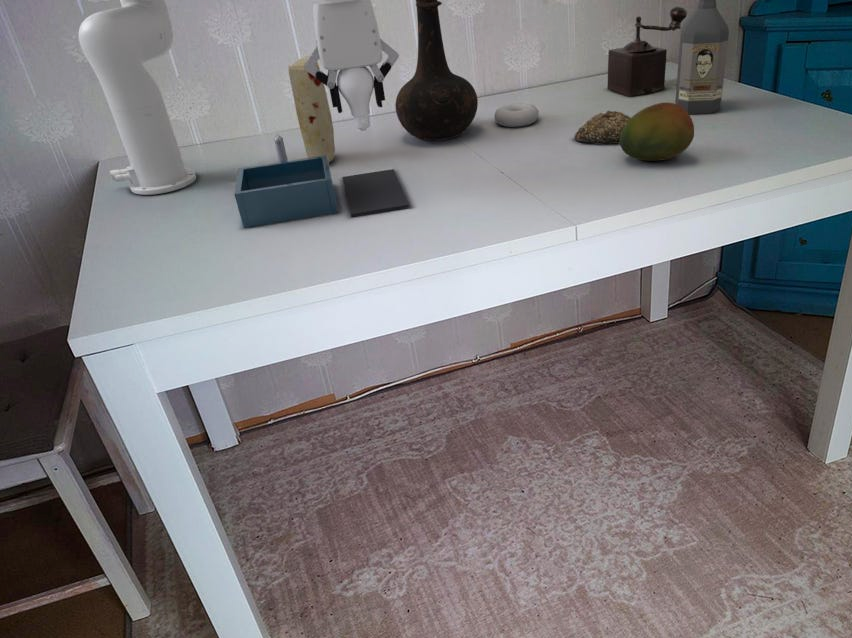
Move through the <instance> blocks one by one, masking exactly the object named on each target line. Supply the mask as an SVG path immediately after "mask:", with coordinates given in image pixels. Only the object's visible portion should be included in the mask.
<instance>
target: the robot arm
mask: <svg viewBox="0 0 852 638" xmlns="http://www.w3.org/2000/svg"><path fill="white" fill-rule="evenodd" d="M111 1H112V0H86V2H91V3H104V2H111ZM119 2H120V5H121V6H119V7H113V8H110V9H104V10H100V11H98V12H94V13H93V14H91V15H89V16H87V17H86V18H85V19H84V20H83V21H82V22H81V23H80V25H79V29H78V43H79V45H80V48H81V50H82V53H83V54H84V56H85V58H86V61H88V63H89V65H90V66H91V68H92V70H93V72H94V74H95V76H96V77H97V80H98V82H99V84H100V87H101V89H102V92H103V94H104V96H105V99H106V102H107V104H108V108H109V110H110V113H111V115H112V118H113V121H114V123H115V126H116V129H117V131H118V134H119V137H120V139H121V143H122V145H123V149H124V151H125V153H126V156H127V159H128V162H129V165H128V166H126V168H123V169H120V168H119V169H111V170H110V172H109V173H110V177H111V179H112V181H116V183H120V182H125V181H129V182H130V183H129V188H130V191H131V192H132V193H133V194H136V195H141V196H152V195H161V194H167V193H171V192H174V191H177V190H182V189H183V188H185V187H188V186H189V185H191V184H192V183H194V182H195V181H196V179H197V174H196V172H195V171H194V170H193V169H191V168H186V166H185V163H184V160H183V156H182V153H181V151H180V148H179V145H178V141H177V138H176V135H175V132H174V129H173V125H172V123H171V119H170V115H169V113H168V110H167V106H166V103H165V101H164V98H163V94H162V92H161V90H160V87H159V85H158V83H157V82H156V80H155V79H154V77H153V76H152V75H151V73H150V72H149V71H148V70H147V69H146V67H145V65H144V63H146V62H149V61H151V60H156V59H158V58H161V57H163V56H165V55H166V54H167V53H168V52H170V49H171V48H172V47H173V41H174V33H173V27H172V22H171V18H170V14H169V11H168V6H167V3H166V0H119ZM312 20H313V28H314V34H315V41H316V46H315V47H314V49H313V51H312V52H311V53H310V55H309V56H310V57H309V58H308V60H307V61H306V63H305V64H304V68H305V70H307V71H308V72H309V73H311V74H312V75H313V76H315V77H316V78H317V79H318V80H319V81H321V82H322V83H323V84H324V86H326V87H327V88H328V89H329V94H330V99H331V104H332V108H336V109H337V113H338V114H342V113H343V107H342V101H341V95H340V91H339V89H338V86H337V76H338V71H340V70H341V69H349V68H355V67H365V66H366V67H369V69H370V70H371V73H373V75H374V76H373V79H374V88H373V91H374V97H375V103H376V105H377V107H378V108H383V102H384V101H386V95H385V89H384V88H385V87H384V81H385V78H386V77H387V76H388V74H389V72H391V69H392V67H394V66H395V63H396V62H397V61H398V59H399V58H400V55H399V52H397V51H396V50H395V49H393V48H392V47H391V46H390V45H389V44H388V43H386V42H385V41H384V40H383V39H382V38H381V37H380V32H379V27H378V22H377V18H376V16H375V11H374V7H373V2H372V0H316V1H313V2H312ZM383 52H384V54H386V55H387V57H386V59H385V61H384V62H383V63H382V64H381V66H380V67H379V66H378V64H379V63H381V62H382V60H383ZM318 61H320V64H321V67H322V68H323V69H325V70H327V74H325V72H323V71H322V70H321V69H320V70H319V69H317V68H316V67H315V64H316V62H318Z"/></svg>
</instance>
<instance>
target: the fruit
mask: <svg viewBox="0 0 852 638" xmlns="http://www.w3.org/2000/svg"><path fill="white" fill-rule="evenodd" d="M630 118H631V119H630V120H629V121H628V122H627V123H626V125H625V126H624V128H623V130H622V132H621V134H620V143H619V145H620V148H621V150H622V151H623V153H625V154H626V155H627V156H628V157H631V158H633V159H636V160H640V161H644V162H645V161H646V162H655V161H658V162H659V161H664V160H669V159H673V158H675V157H677V156H679V155H681V154H682V153H683V152H685V151H686V150H687V149H689V147H690V145H691V144H692V142H693V140H694V137H695V125H694V121H693V119H692V117H691V114H688V112H687V111H686V110H685V109H684V108H683V107H681V106H679V105H677V104H676V103H675V102H667V101H666V102H660V103H655V104H652V105H650V106H647V107H644V108H643V109H640V110H639V111H638V112H636V113H635V114H634V115H633V116H631V117H630Z"/></svg>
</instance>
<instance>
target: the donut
mask: <svg viewBox="0 0 852 638" xmlns="http://www.w3.org/2000/svg"><path fill="white" fill-rule="evenodd" d="M538 119H539V109H538V107H536V106H535V105H534V104H531V103H527V102H513V103H507V104H503V105H501V106H500V107H498V108H497V109H495V112H494V120H495V122H496V123H497V124H498V125H500V126H504V127H508V128H519V127H525V126H529V125H530V124H533V123H535V122H536V121H537V120H538Z"/></svg>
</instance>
